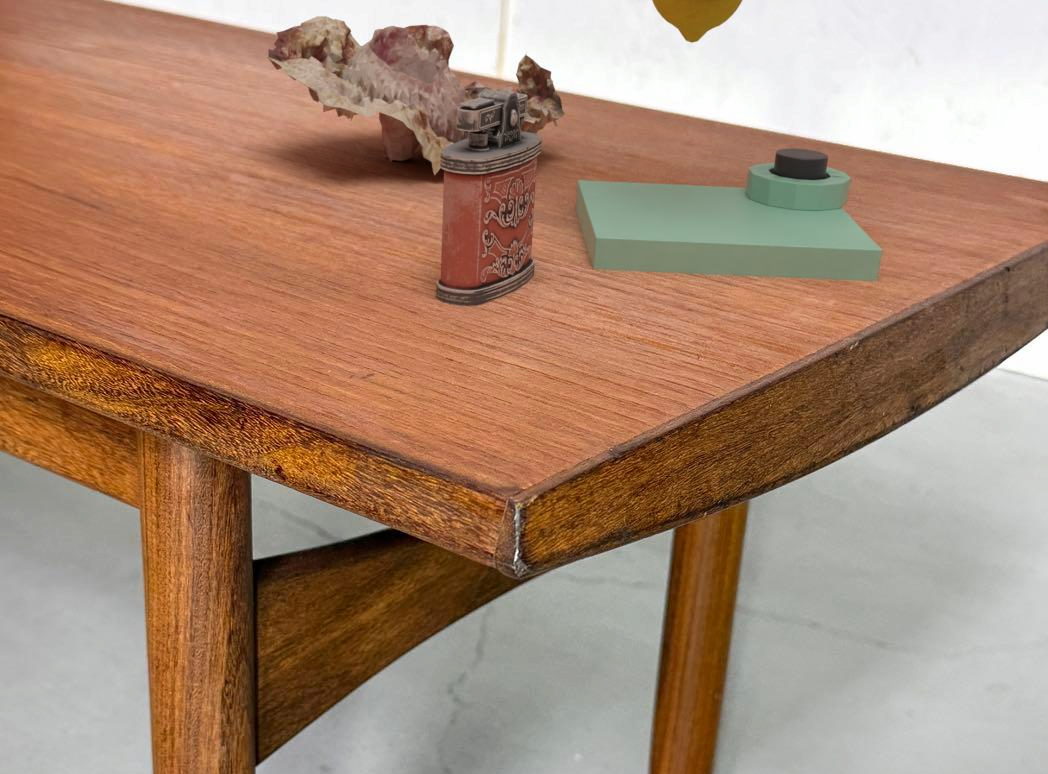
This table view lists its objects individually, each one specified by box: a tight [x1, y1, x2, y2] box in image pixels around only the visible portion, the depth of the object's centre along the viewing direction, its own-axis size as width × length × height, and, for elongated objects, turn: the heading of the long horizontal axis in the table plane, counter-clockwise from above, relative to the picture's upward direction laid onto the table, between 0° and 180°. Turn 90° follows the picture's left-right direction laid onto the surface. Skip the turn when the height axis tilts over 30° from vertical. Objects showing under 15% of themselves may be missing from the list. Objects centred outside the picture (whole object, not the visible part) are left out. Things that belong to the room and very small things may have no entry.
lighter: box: [435, 89, 543, 307], centre depth 76 cm, size 8×3×10 cm, turn 154°
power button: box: [773, 147, 829, 180], centre depth 92 cm, size 3×3×2 cm
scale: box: [575, 161, 883, 282], centre depth 89 cm, size 17×15×4 cm
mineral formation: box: [267, 15, 566, 176], centre depth 104 cm, size 23×16×10 cm
